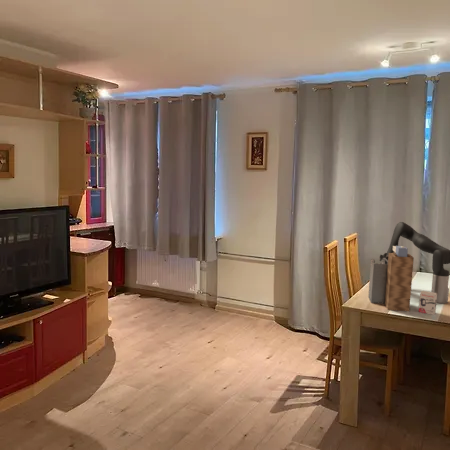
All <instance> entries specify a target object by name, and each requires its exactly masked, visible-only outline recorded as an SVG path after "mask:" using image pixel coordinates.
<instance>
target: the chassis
mask: <svg viewBox="0 0 450 450" xmlns="http://www.w3.org/2000/svg"><path fill="white" fill-rule="evenodd" d="M382 262H383V264H380V263H377V262H376V260H375V258H372V259H370V270H369V283H368V296H367V297H368V299H369V301H370V303H371V304H380V305H385V296H386V282H387V269H388V260H384V261H383V260H382Z"/></svg>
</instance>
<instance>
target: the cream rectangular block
mask: <svg viewBox="0 0 450 450" xmlns="http://www.w3.org/2000/svg"><path fill="white" fill-rule="evenodd" d="M408 250H409V249H408V248H407V246H404V245H398V246H393V251H394V252H395V253H396V254H397V256H398V257H407V253H408V252H409V251H408ZM408 254H409V253H408Z"/></svg>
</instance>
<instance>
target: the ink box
mask: <svg viewBox="0 0 450 450" xmlns="http://www.w3.org/2000/svg"><path fill="white" fill-rule="evenodd" d="M436 301H437V293H433V292H431V291H425V290H422V291H420V293H419V303H418V304H419V305H418V313H422V314H423V313H424V314H429V315H433V316H434V315H436V309H437V303H436Z"/></svg>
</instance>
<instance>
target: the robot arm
mask: <svg viewBox="0 0 450 450" xmlns="http://www.w3.org/2000/svg"><path fill="white" fill-rule="evenodd" d="M401 237H402V238H404V239H406V240H408V241H410V242H411V243H412V244H413V245H414V246H415V247H416V248H418V249H419V250H420V251H421V252H422V251H423V252H425V253H428V254H431V255H432V259H431V260H432V264H431V268H432V280H431V281H432V282H431V291H430V292H433V293H437V301H436V304H448V303H449V302H448V301H449V291H450V288H449V278H450V271H449V270H448V269H446V268H445V267H444V265H448V264H449V265H450V249H448V248H446V247H445V246H443V245H440V244H438V243H437V242H435V241H434V240H432V239H431V238H429V237H428V236H426V235H425V234H422V233H421V232H418V231H417V230H415V229H414V228H413V227H412V226H411V225H409V224H408V223H406V222H403V221H399V222H398V223H396V225H395V227H394V229H393V232H392V235H391V240H390V244H389V246H388V249H387V252H385V253H384V254H380V255H379V259H378V260H379V262H381V263H379V264H383V261H384V260H388V255H389V253H393V252H394V251H393V246H399V241H400V238H401Z"/></svg>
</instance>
